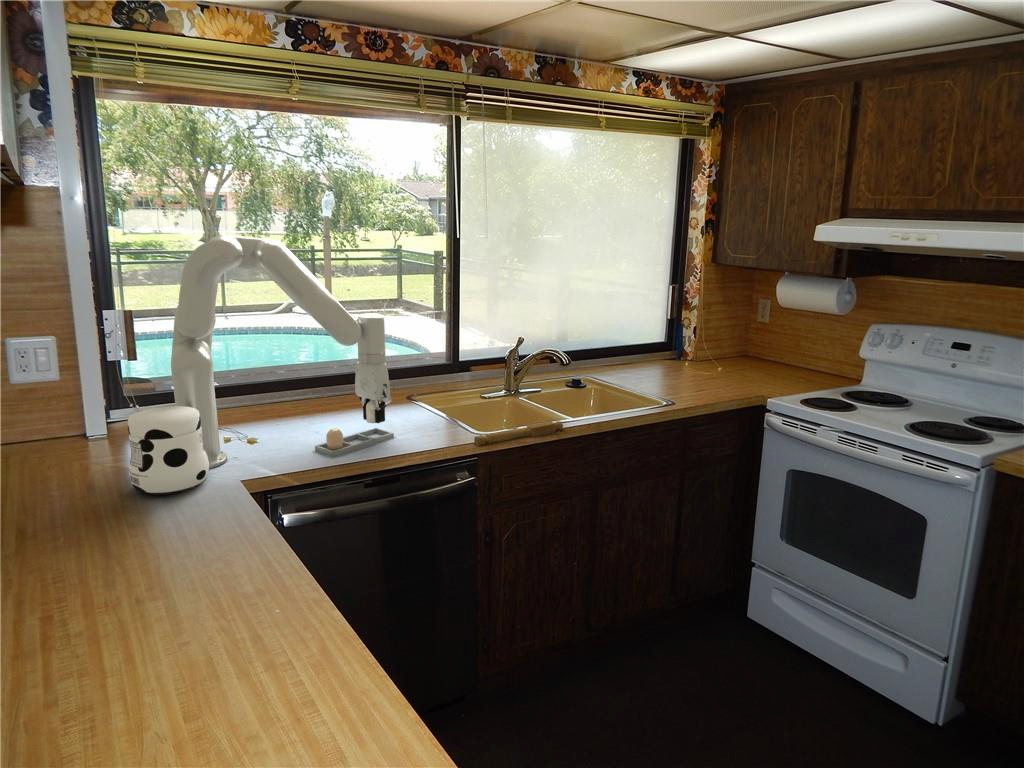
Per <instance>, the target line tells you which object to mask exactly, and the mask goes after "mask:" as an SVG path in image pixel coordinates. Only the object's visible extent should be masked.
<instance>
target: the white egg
mask: <svg viewBox="0 0 1024 768" xmlns="http://www.w3.org/2000/svg"><path fill="white" fill-rule="evenodd" d="M379 403H381V402H380V401H379ZM375 410H376V404H375V400H371V401H369V402H368V403H367V405H366V419H367V420H366V423H369V424H376V423H375Z"/></svg>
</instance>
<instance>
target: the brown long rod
mask: <svg viewBox="0 0 1024 768" xmlns="http://www.w3.org/2000/svg"><path fill="white" fill-rule="evenodd" d="M563 429H564V424H563V422H562V421H559V420H557V421H556V422H553V421H550V420H549V421H548V420H547V421H541V422H537V423H529V424H527V426H526V427H523V428H522V429H515V430H506V431H499V432H494V433H493V432H492V433H489V434H487V433H485V435H476V436H474V440H473V442H474V445H475V446H478V447H479V446H483V445H485V444H487V445H490V444H495V443H498V442H499V443H500V442H505V441H508V440H513V439H517V438H521V437H538V436H543V435H548V434H553V433H555V432H556V431H561V430H563Z"/></svg>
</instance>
